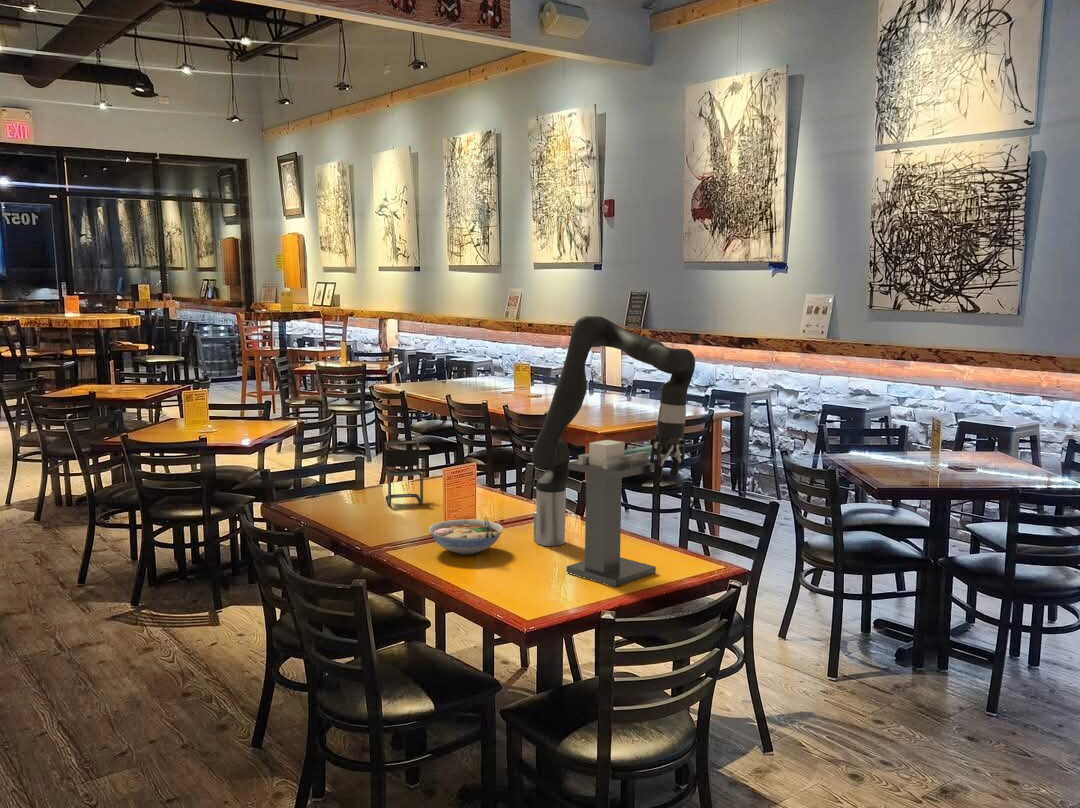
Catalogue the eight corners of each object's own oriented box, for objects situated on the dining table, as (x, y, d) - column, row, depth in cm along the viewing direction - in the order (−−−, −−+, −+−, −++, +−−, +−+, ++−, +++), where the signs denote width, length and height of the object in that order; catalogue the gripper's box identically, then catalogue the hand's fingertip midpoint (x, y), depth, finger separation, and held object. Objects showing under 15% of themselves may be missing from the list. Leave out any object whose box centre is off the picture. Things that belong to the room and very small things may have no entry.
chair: (418, 495, 357) (418, 439, 354) (423, 505, 340) (423, 447, 338) (384, 497, 354) (384, 440, 351) (388, 507, 337) (387, 448, 335)
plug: (589, 464, 254) (589, 442, 253) (646, 453, 273) (646, 433, 272) (605, 467, 250) (606, 445, 249) (662, 455, 268) (663, 435, 268)
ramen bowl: (429, 541, 292) (429, 516, 291) (501, 540, 294) (501, 515, 293) (427, 564, 267) (427, 536, 266) (505, 563, 270) (505, 535, 269)
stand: (566, 573, 260) (568, 453, 256) (606, 560, 273) (609, 446, 269) (615, 587, 248) (618, 462, 244) (655, 573, 261) (658, 454, 257)
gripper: (673, 416, 263) (668, 471, 265) (646, 419, 252) (640, 477, 254) (696, 420, 258) (690, 476, 260) (669, 423, 247) (663, 482, 249)
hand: (665, 476), depth 257 cm, fingers open, 8 cm apart
